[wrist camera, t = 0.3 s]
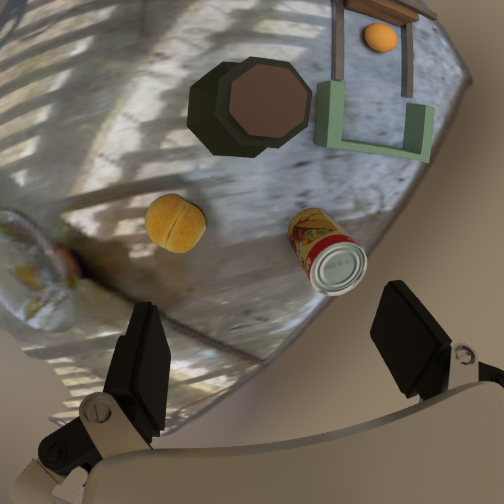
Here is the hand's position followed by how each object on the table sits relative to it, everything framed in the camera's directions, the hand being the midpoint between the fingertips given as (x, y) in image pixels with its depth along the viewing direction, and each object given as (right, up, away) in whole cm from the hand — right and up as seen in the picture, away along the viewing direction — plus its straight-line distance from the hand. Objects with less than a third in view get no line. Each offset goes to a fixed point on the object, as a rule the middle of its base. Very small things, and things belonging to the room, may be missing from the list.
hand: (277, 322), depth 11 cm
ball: (+18, +34, +16) cm, 41 cm away
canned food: (+8, +6, +33) cm, 35 cm away
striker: (+17, +41, +15) cm, 47 cm away
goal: (+17, +23, +25) cm, 38 cm away
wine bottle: (-4, +22, +23) cm, 32 cm away
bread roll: (-12, +7, +30) cm, 33 cm away
